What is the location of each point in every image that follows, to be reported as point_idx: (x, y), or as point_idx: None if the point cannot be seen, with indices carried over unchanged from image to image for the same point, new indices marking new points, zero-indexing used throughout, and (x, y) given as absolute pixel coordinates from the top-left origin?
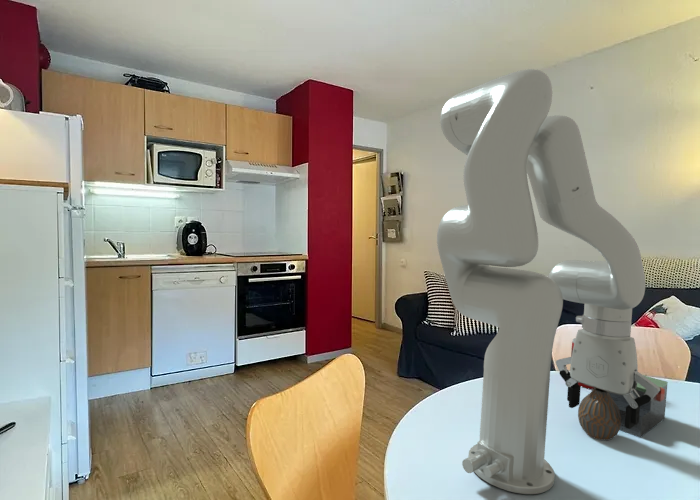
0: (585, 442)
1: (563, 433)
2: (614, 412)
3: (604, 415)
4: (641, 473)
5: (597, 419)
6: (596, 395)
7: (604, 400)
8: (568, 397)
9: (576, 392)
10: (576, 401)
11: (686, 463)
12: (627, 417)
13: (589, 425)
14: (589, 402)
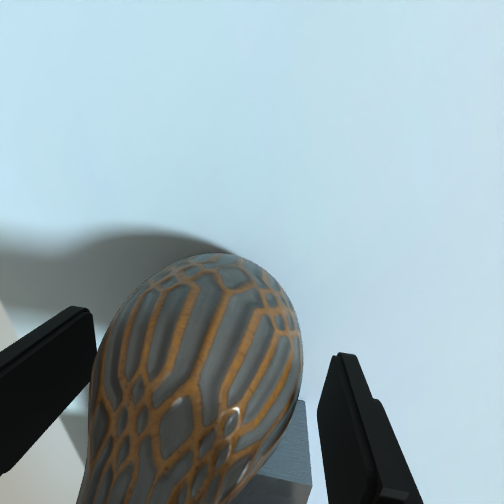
0: (239, 198)
1: (328, 207)
2: (96, 356)
3: (137, 305)
4: (30, 112)
5: (178, 274)
6: (158, 449)
7: (109, 415)
8: (379, 413)
9: (343, 471)
10: (328, 408)
11: (15, 303)
12: (31, 340)
13: (228, 258)
14: (217, 363)
